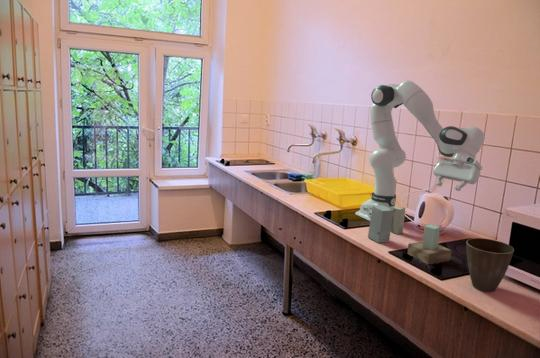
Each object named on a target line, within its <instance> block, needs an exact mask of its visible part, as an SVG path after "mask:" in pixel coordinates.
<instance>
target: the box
mask: <svg viewBox="0 0 540 358" xmlns="http://www.w3.org/2000/svg"><path fill="white" fill-rule="evenodd" d="M393 210H394V213H393V219H392V226H391V232H390V233H392V234H396V235H400V234H402V233H403V232H404V223H405V216H406V207H403V206H399V205H395V207H394V208H393Z"/></svg>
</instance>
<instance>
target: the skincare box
mask: <svg viewBox="0 0 540 358" xmlns="http://www.w3.org/2000/svg"><path fill="white" fill-rule="evenodd" d="M393 213H394V210H392V209H390V208H388V207H385V206H383V205H379V206H372V213H371V219H370V221H369V226H368V233H367V237H368V238H369V239H370V240H372V241H374V242H376V243H377V244H382V243H389V242H390V239H391V238H390V237H391V233H392V232H391V226H392V219H393Z"/></svg>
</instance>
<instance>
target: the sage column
mask: <svg viewBox="0 0 540 358" xmlns="http://www.w3.org/2000/svg"><path fill="white" fill-rule="evenodd" d="M440 231H441V227H440V226H438V225H434V224H427V225H425V226H424V229H423V237H422V242H423V246H422V247H425V248H428V249H431V250H433V249H435V248H437V247H438V244H439V240H440Z"/></svg>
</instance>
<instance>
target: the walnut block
mask: <svg viewBox="0 0 540 358" xmlns="http://www.w3.org/2000/svg"><path fill="white" fill-rule="evenodd" d="M422 246H423V241H418V242H411V243H408V245H407V255H409V256H410V257H412V256H413V258H414V257H415V259H416V258H417V259H416V260H418V259H419V260H418V261H420V260H421V261H420V262H422V263H424V264H425V265H429V264H430V265H434V263H435V264H440V262H441V263H445V262H446V263H447V262H450V261H451V255H452V250H451V248H450V249H449V248H447V247H445V246H443V245H441V244H439V243H438V247H437V248H435V249H433V250H431V249H428V248H425V247H422Z"/></svg>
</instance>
